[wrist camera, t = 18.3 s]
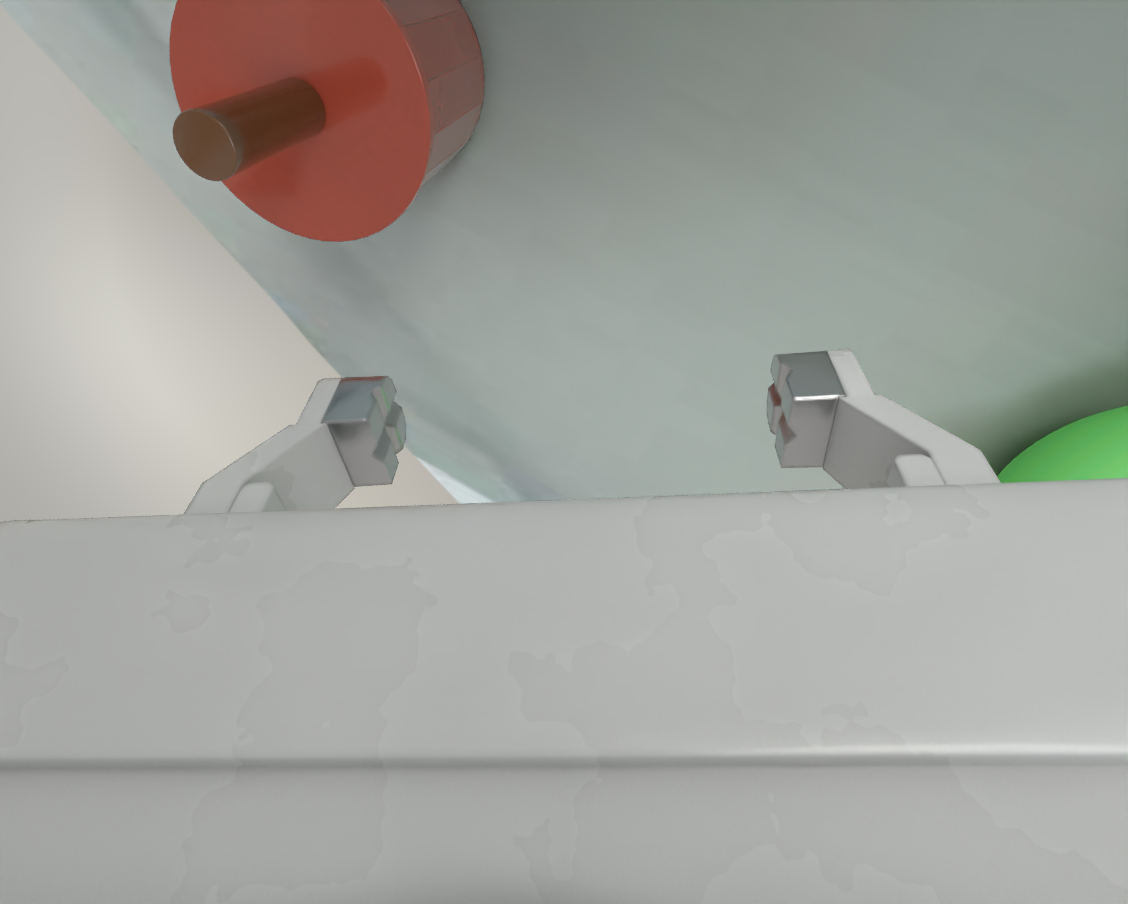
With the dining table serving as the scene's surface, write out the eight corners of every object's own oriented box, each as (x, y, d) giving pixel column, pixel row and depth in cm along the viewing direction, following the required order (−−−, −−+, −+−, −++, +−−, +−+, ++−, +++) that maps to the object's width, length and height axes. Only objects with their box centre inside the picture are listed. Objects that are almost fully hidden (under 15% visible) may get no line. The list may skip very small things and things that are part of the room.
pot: (257, 0, 40) (135, 17, 31) (428, -93, 35) (339, -102, 27) (359, 197, 46) (279, 254, 37) (515, 137, 41) (464, 187, 33)
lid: (130, 9, 32) (-31, 28, 25) (351, -121, 27) (227, -140, 20) (283, 262, 38) (189, 332, 31) (481, 191, 34) (421, 255, 27)
